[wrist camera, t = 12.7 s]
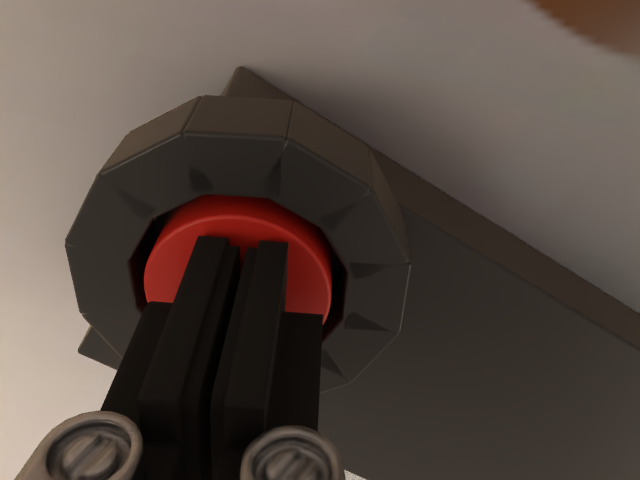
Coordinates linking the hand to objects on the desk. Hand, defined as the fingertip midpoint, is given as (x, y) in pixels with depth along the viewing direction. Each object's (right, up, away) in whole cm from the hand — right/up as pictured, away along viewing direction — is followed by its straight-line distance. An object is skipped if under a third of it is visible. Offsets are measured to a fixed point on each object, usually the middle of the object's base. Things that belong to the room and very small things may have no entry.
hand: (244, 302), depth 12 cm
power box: (+4, -1, +6) cm, 7 cm away
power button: (0, +1, +1) cm, 2 cm away
